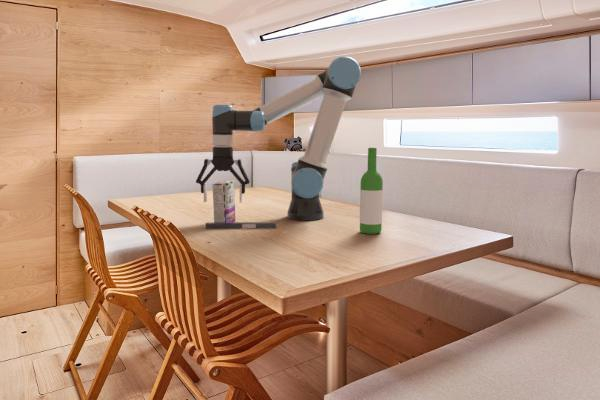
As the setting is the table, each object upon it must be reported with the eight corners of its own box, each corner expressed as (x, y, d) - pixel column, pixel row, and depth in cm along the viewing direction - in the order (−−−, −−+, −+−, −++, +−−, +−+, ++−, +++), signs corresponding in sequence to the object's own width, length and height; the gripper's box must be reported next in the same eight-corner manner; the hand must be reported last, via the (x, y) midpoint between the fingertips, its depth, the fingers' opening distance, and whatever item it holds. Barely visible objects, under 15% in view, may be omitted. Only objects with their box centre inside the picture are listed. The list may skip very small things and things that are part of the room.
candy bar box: (223, 221, 187) (222, 180, 184) (235, 221, 186) (234, 180, 183) (213, 226, 176) (211, 183, 173) (225, 227, 175) (224, 184, 172)
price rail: (276, 227, 175) (276, 222, 175) (276, 228, 173) (276, 223, 172) (206, 227, 174) (206, 222, 174) (205, 229, 172) (205, 223, 171)
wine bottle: (368, 235, 161) (369, 148, 156) (355, 231, 168) (356, 147, 163) (386, 233, 165) (388, 148, 160) (372, 229, 171) (374, 147, 167)
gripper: (256, 146, 180) (256, 200, 183) (191, 145, 179) (192, 200, 182) (255, 147, 173) (255, 203, 176) (187, 146, 172) (188, 202, 175)
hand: (223, 201), depth 179 cm, fingers open, 13 cm apart
